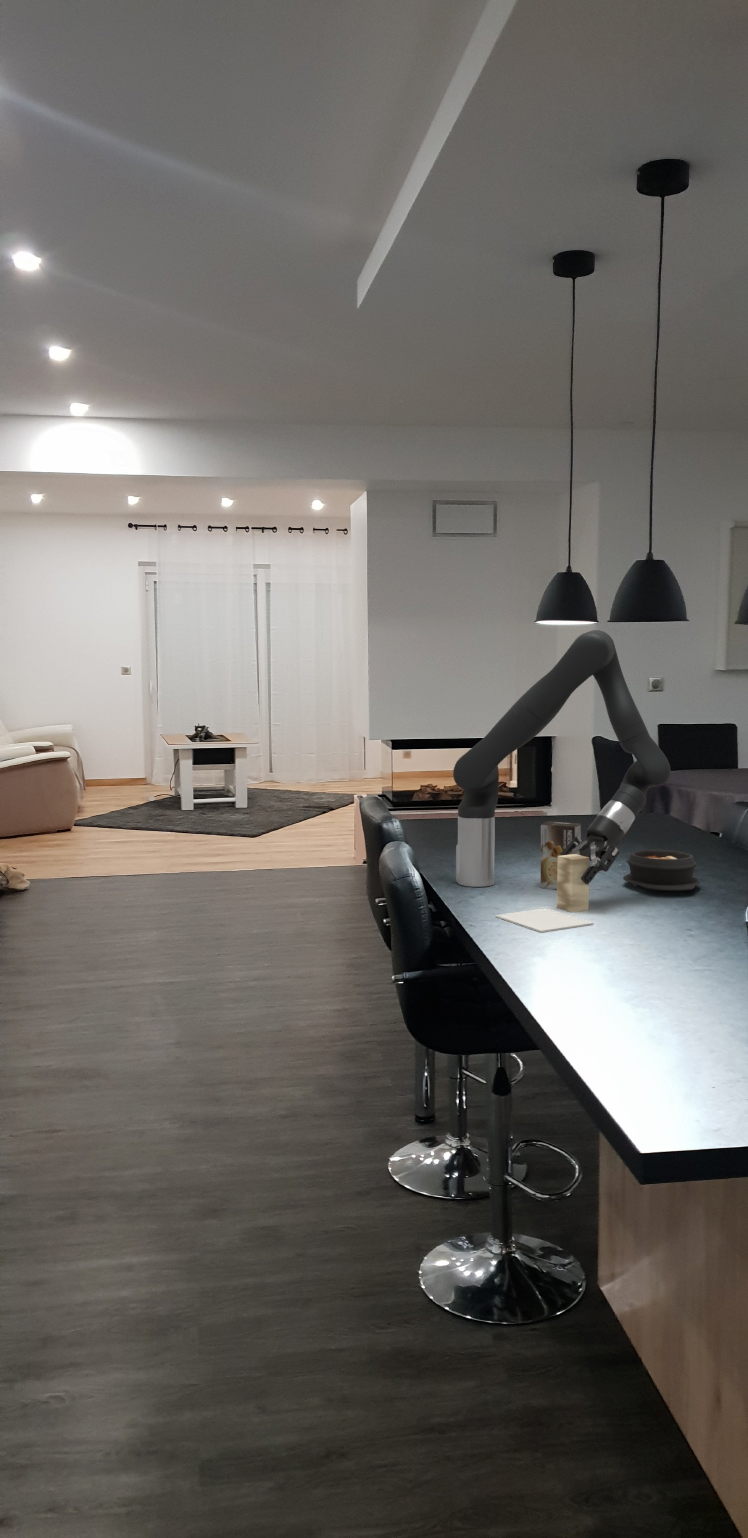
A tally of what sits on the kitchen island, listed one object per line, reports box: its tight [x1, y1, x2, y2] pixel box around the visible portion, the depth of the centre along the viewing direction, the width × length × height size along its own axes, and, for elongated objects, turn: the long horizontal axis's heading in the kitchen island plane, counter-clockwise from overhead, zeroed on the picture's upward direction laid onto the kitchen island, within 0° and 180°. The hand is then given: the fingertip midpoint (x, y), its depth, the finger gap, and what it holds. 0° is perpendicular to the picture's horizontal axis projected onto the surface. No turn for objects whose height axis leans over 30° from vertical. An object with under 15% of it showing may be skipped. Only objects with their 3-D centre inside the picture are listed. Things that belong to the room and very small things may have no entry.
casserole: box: [622, 849, 701, 892], centre depth 265 cm, size 25×19×8 cm
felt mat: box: [495, 907, 594, 934], centre depth 230 cm, size 16×14×1 cm
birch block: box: [556, 854, 590, 913], centre depth 241 cm, size 5×5×12 cm
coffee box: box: [540, 820, 583, 890], centre depth 264 cm, size 9×6×16 cm
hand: (571, 878), depth 240 cm, fingers open, 8 cm apart
